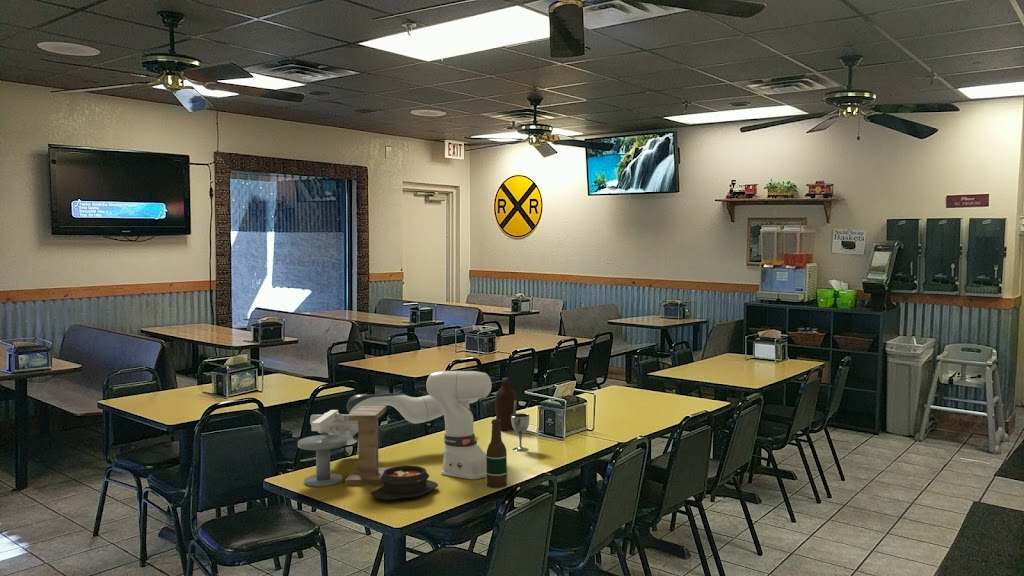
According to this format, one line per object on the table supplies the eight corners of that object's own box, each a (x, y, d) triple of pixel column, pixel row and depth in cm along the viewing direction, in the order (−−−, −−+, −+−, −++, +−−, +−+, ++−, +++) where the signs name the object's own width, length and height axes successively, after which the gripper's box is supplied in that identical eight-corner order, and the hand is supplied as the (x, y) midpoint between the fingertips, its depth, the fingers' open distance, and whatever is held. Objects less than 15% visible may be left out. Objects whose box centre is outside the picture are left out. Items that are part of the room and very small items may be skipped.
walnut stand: (356, 472, 289) (355, 406, 288) (392, 472, 288) (391, 406, 287) (344, 485, 271) (342, 415, 270) (382, 486, 270) (380, 415, 269)
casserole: (390, 509, 245) (390, 484, 245) (360, 496, 258) (359, 473, 258) (449, 492, 262) (449, 468, 262) (417, 481, 276) (417, 459, 275)
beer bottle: (511, 483, 272) (510, 418, 271) (501, 489, 265) (501, 422, 264) (492, 480, 275) (491, 416, 274) (482, 486, 268) (481, 421, 267)
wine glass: (508, 450, 319) (508, 416, 319) (515, 446, 327) (515, 412, 326) (525, 452, 316) (525, 417, 316) (532, 448, 324) (532, 414, 323)
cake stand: (357, 480, 278) (356, 439, 277) (315, 491, 264) (315, 448, 264) (330, 471, 290) (329, 432, 289) (289, 482, 277) (288, 441, 276)
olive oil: (495, 431, 356) (494, 380, 355) (495, 426, 367) (494, 376, 366) (517, 431, 356) (516, 379, 356) (516, 426, 367) (516, 376, 366)
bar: (330, 417, 294) (330, 409, 294) (338, 417, 294) (338, 409, 294) (311, 431, 270) (311, 422, 270) (319, 431, 270) (319, 422, 270)
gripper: (364, 433, 300) (356, 422, 288) (315, 433, 301) (304, 422, 289) (366, 418, 303) (358, 407, 291) (317, 418, 304) (307, 407, 292)
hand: (331, 414), depth 290 cm, fingers closed on bar, 3 cm apart
